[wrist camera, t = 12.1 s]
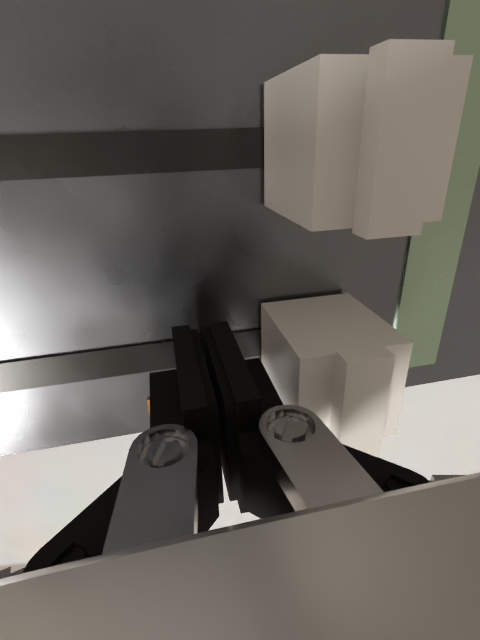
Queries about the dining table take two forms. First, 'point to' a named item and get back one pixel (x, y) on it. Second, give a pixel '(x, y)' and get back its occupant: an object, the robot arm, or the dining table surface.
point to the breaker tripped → (337, 365)
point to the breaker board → (192, 200)
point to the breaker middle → (365, 137)
